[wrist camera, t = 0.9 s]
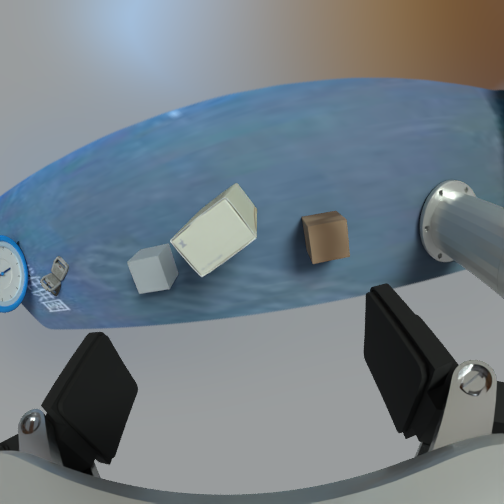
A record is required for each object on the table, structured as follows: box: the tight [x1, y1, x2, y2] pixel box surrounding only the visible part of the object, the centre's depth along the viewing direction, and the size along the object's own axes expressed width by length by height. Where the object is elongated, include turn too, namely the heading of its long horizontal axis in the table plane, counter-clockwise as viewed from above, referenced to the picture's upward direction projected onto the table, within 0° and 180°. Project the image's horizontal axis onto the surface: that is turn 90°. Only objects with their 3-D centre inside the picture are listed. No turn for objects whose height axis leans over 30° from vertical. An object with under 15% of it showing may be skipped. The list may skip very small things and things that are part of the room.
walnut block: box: [302, 211, 350, 264], centre depth 32 cm, size 4×4×4 cm
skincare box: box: [170, 183, 257, 277], centre depth 28 cm, size 6×4×12 cm
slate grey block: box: [127, 244, 179, 294], centre depth 34 cm, size 4×4×4 cm
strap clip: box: [40, 256, 69, 296], centre depth 36 cm, size 8×3×4 cm, turn 137°
